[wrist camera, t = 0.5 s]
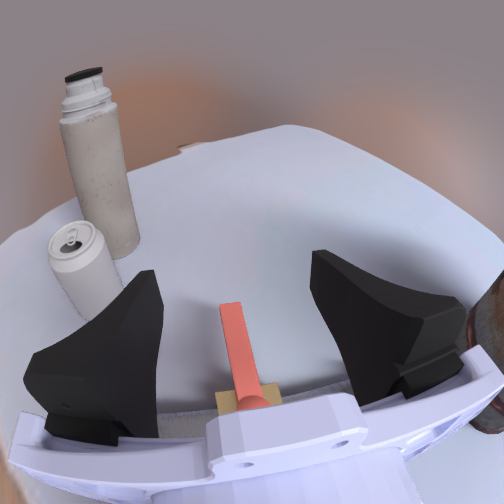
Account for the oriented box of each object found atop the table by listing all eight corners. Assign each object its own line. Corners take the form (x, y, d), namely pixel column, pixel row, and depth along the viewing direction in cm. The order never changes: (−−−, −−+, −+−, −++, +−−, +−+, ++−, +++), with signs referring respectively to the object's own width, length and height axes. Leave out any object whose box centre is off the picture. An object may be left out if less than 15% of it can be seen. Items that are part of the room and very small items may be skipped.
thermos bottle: (88, 243, 41) (46, 81, 22) (124, 221, 46) (98, 64, 26) (110, 267, 38) (61, 79, 18) (149, 240, 43) (125, 61, 23)
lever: (275, 428, 21) (277, 425, 20) (239, 434, 20) (239, 433, 19) (244, 307, 30) (244, 300, 29) (215, 311, 29) (214, 303, 28)
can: (78, 328, 30) (36, 267, 22) (80, 285, 35) (49, 222, 27) (128, 320, 32) (97, 253, 24) (125, 277, 37) (102, 209, 29)
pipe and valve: (375, 412, 25) (397, 399, 22) (123, 458, 20) (103, 454, 16) (358, 370, 29) (376, 351, 26) (118, 408, 24) (100, 394, 20)
